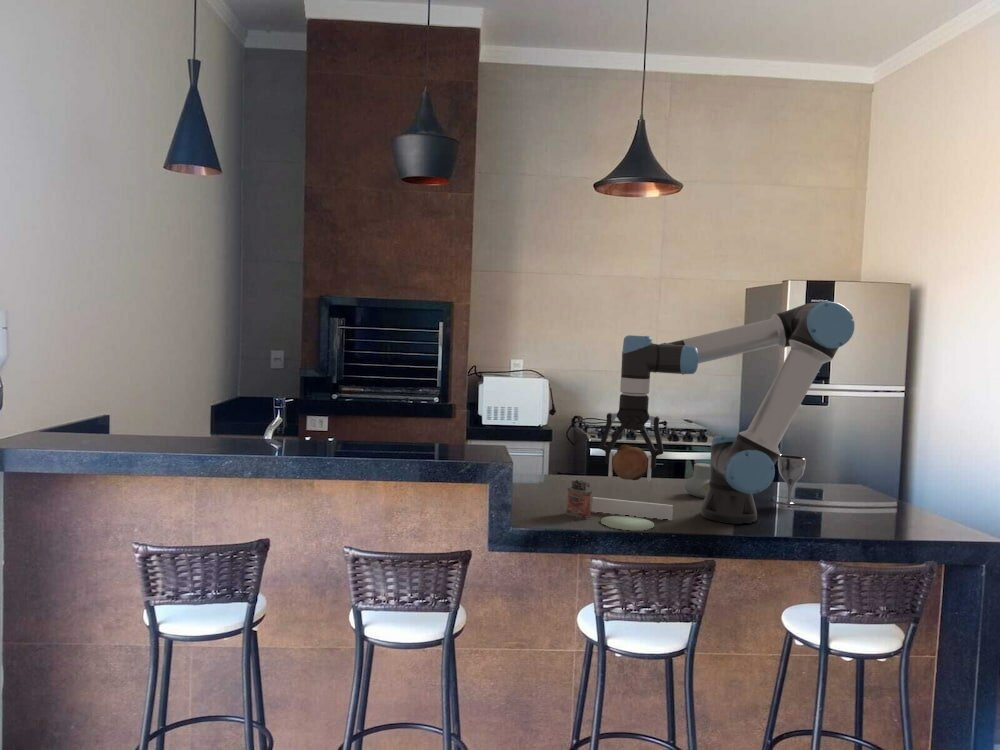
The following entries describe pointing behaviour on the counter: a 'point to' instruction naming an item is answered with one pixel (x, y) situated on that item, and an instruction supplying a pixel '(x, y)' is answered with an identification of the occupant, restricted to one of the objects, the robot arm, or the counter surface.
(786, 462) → the wine glass
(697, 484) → the air freshener
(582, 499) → the lighter
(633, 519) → the pad
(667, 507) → the low wall
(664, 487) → the counter surface
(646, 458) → the onion
